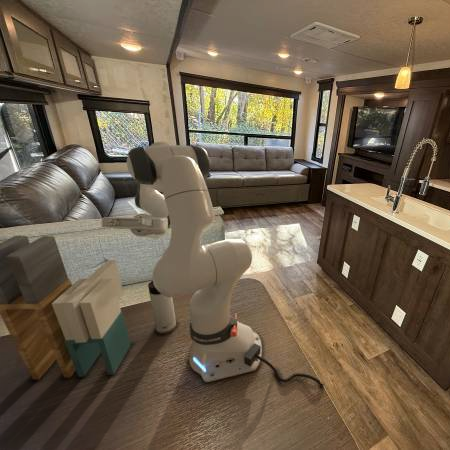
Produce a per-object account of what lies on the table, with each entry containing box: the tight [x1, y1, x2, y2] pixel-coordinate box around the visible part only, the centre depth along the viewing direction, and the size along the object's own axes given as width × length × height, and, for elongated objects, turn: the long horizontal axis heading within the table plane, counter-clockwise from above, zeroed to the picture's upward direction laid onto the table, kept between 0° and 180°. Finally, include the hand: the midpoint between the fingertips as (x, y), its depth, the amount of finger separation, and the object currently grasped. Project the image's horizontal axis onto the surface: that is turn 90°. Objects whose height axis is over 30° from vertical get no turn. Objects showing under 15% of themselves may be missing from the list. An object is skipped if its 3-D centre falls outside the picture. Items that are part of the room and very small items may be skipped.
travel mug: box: [147, 280, 177, 335], centre depth 83 cm, size 6×7×20 cm
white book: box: [61, 259, 125, 343], centre depth 69 cm, size 2×19×13 cm, turn 8°
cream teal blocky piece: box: [52, 278, 132, 377], centre depth 69 cm, size 9×10×26 cm
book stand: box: [0, 235, 76, 380], centre depth 65 cm, size 9×10×39 cm
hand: (124, 221), depth 82 cm, fingers open, 8 cm apart
